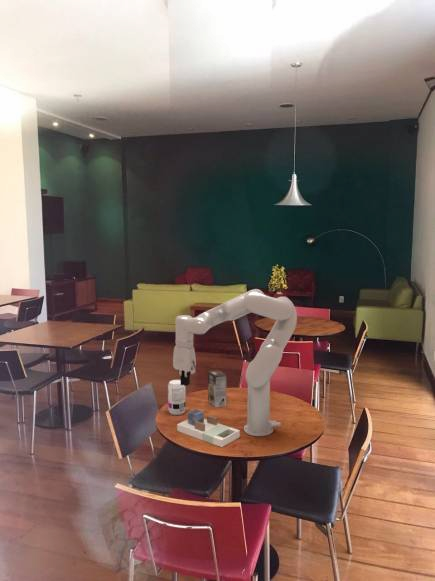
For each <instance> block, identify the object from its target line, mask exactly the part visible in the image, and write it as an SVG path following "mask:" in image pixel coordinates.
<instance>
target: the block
mask: <svg viewBox="0 0 435 581" xmlns="http://www.w3.org/2000/svg"><path fill="white" fill-rule="evenodd" d="M204 419H205V412H204V411H203V410H199V409H196V408H195V409H192V410H190V411H188V412H187V420H188V424H191V425H194V426H195V421H198V422H201V423H204Z"/></svg>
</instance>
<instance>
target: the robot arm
mask: <svg viewBox="0 0 435 581" xmlns="http://www.w3.org/2000/svg"><path fill="white" fill-rule="evenodd" d="M250 313H252V314H255V315H258V316H262V317H264V318H268V319H271V320H275V322H274V325H273V326H272V328H271V329H270V332H269V333H268V334H267V336H266V337H265V339H264V341H263V342H262V343H261V345H260V347H259V350H258V351H257V354H256V355H255V356H254V358H253V359H251V361H250V362H249V364H248V366H247V368H246V371H245V381H246V383H247V423H246V424H245V425H244V426H243V431H244V433H245V434H247V435H250V436H251V437H266V436H269V435H271V434H272V433H273V432H274V428H279V427H281V424H282V423H281V422H280V421H277V420H271V419H270V418H271V416H270V415H271V411H270V408H271V406H270V405H271V397H270V396H271V377H272V376H273V374H275V371H276V369H277V368H278V366H279V364H280V362H281V361H282V358H283V352H284V349H285V347H286V346H287V345H288V343H289V341H290V339H291V337H292V335H293V334H294V331H295V329H296V326H297V322H298V312H297V310H296V307H295V305H294V303H293V302H292V300H290V299H289V298H288V297H287V296H279V297H277V298H276V297H272V296H269V295H266V294H265V293H264V292H263V291H262V290H261V289H258V288H254V289H250V290H248V291H246V292H244V293H242V294H239V295H237V296H236V297H234V298H233V297H232V298H230V299H229V300H227V301H225V302H223V303H222V304H219V305H217V306H215V307H213V308H210V309H207V310H206V311H204V312H202V313H200V314H198V315H197V316H195V317H192V316H191V315H188V314H183V315H182V314H181V315H178V316H176V317H175V320H174V322H175V323H174V324H175V341H174V342H175V346H174V348H173V355H172V356H173V357H172V367H173V368H174V369H175V371H177V372H178V373H179V374H178V375H179V376H180V380H181V385H184V386H185V387H187V386H190V384H191V382H190V377H192V376H191V375H193V374H196V367H197V359H196V358H197V357H196V353H195V352H196V351H195V347H194V334H195V335H204V334H206V333H207V332H208V331H209V330H210V329H212V328H213V327H215V326H217V325H219V324H222V323H225V322H227V321H236V320H237V319H240V318H242V317H244V316H246V315H247V314H250Z"/></svg>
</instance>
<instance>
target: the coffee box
mask: <svg viewBox="0 0 435 581" xmlns="http://www.w3.org/2000/svg"><path fill="white" fill-rule="evenodd" d="M207 402H208V403H209V404H211V406H213V408H220V407H226V406H227V374H226V373H225V372H223V371H221V370H219V369H216V370H215V369H213V370H208V371H207Z"/></svg>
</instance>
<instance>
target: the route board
mask: <svg viewBox="0 0 435 581" xmlns="http://www.w3.org/2000/svg"><path fill="white" fill-rule="evenodd" d="M206 416H207V417H206V418H204V423H201V422H198V421H195V426H194V425H191V424H188V419H186V420H184V421H181V422H179V423H177V424H176V431H177V432H180V433H181V434H184V435H187V436H190V437H193V438H196V439H198V440H201V441H204V442H206V443H209V444H212V445H214V446H217V447H220V448H223V447H225V446H227V445H229V444H230V443H232V442H234V441H236V440H237V439H239V438H240V437H241V430H240V429H237V428H234V427H231V426H228V425H225V424H222V423H219V422H218V417H215V416H212V415H209V414H208V415H206Z"/></svg>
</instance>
